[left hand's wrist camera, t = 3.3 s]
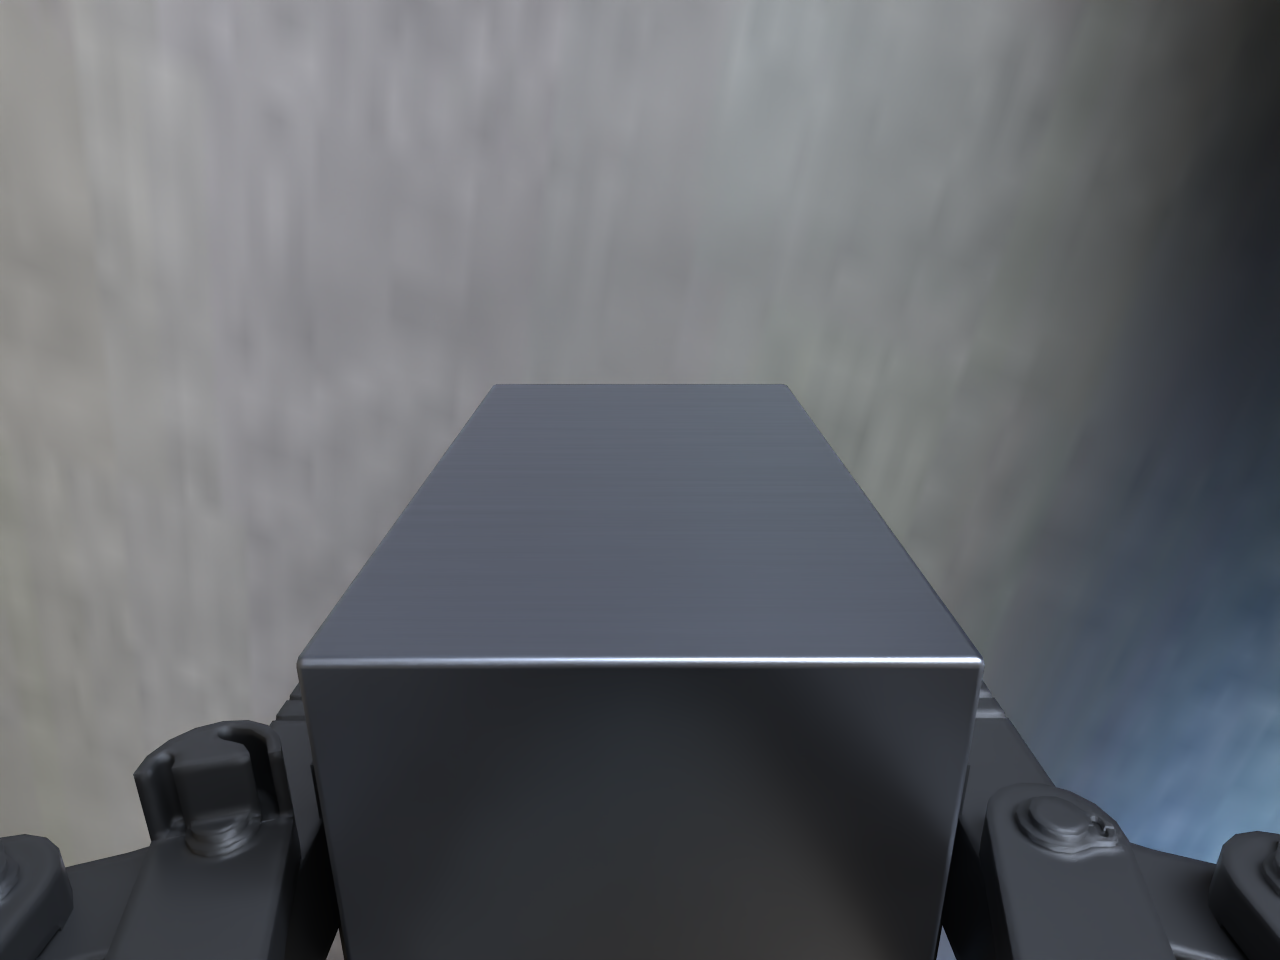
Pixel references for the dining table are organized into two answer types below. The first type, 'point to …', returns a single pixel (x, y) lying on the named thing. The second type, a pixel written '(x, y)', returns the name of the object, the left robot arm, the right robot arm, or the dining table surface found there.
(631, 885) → the bar
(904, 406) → the dining table surface
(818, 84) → the dining table surface
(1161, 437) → the dining table surface
